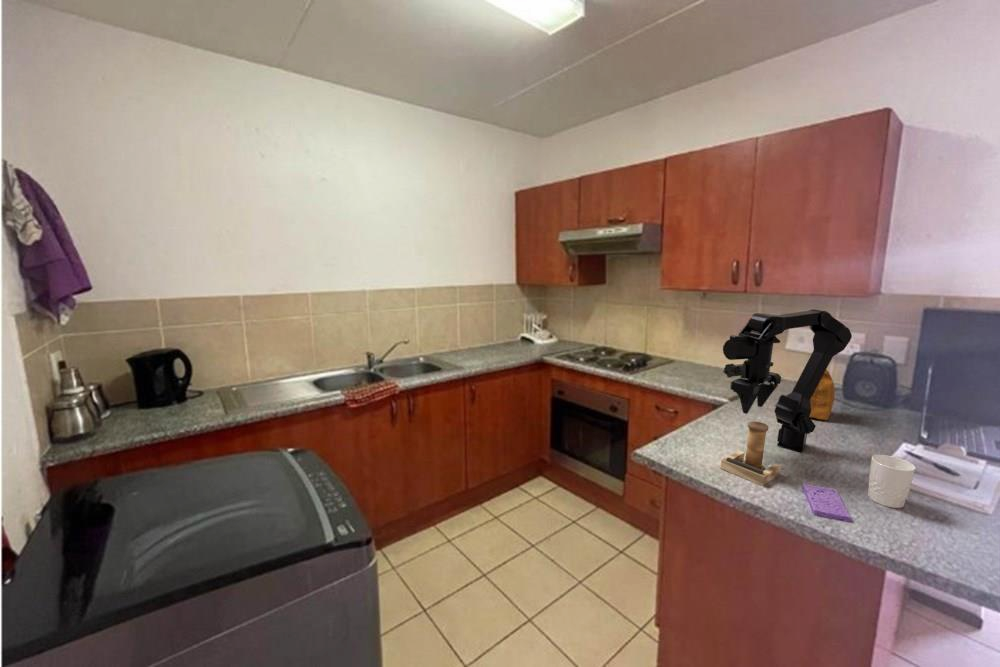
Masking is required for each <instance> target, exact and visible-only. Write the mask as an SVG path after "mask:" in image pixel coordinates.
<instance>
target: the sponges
mask: <svg viewBox="0 0 1000 667" xmlns="http://www.w3.org/2000/svg"><path fill="white" fill-rule="evenodd" d="M802 486H803V487H802V489H803V490H802V491H803V493H804V495H805V498H806V499H807V503H808V505H809V507H810V510H811V513H812V514H813V515H815V516H817V517H824V518H829V519H834V520H835V519H836V520H838V521H844V522H849V523H850V522H851V515H850V513H849V511H848V510H847V509H846V506H845V505H844V502H843V501H842V499H841V497H840V495H839V492H838V490H837V489H836V488H830V487H822V486H818V485H812V484H807V483H803V485H802Z"/></svg>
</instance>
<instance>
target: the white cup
mask: <svg viewBox="0 0 1000 667" xmlns="http://www.w3.org/2000/svg"><path fill="white" fill-rule="evenodd" d="M916 469H917V468H916V466H915V464H913V463H912V462H910V461H907V460H904V459H903V458H900V457H896V456H891V455H887V454H873V455H872V456H871V462H870V468H869V477H868V490H867V497H868V498H869V499H870V500H871V501H873V502H875V503H876V504H879V505H881V506H883V507H889V508H895V509H900V508H904V506H905V502H906V499H907V498H908V495H909V492H910V491H911V490H910V489H911V486H912V482H913V478H914V475H915V472H916Z"/></svg>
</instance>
